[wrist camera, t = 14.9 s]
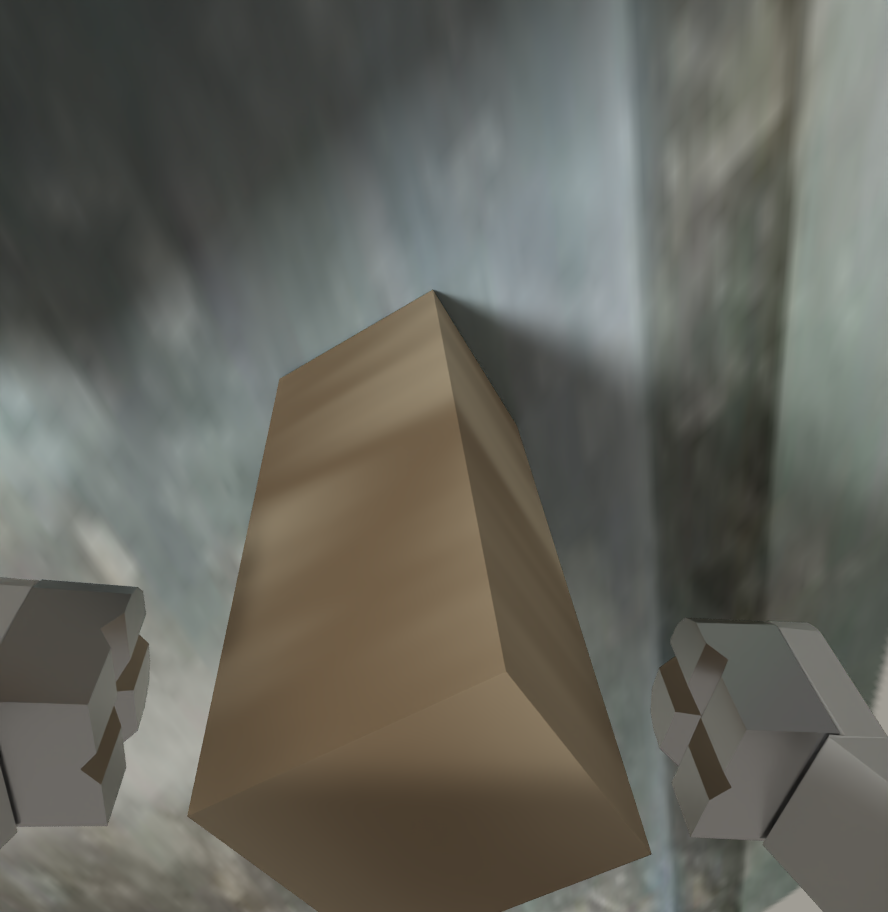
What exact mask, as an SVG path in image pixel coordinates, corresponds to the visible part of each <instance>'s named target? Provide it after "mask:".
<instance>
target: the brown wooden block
mask: <svg viewBox="0 0 888 912" xmlns="http://www.w3.org/2000/svg"><path fill="white" fill-rule="evenodd" d="M187 816H188V817H189V818H190V819H192V820H193V821H195V822H196V823H197V824H199V825H200V826H201V827H203V828H204V829H205V830H207V831H208V832H210V833H211V834H212V835H214V836H215V837H216V838H218V839H219V840H221V841H222V842H223V843H225V844H226V845H227V846H229V847H230V848H232V849H233V850H234V851H236V852H237V853H238V854H240V855H241V856H243V857H244V858H245V859H247V860H248V861H249V862H251V863H252V864H253V865H255V866H256V867H258V868H259V869H260V870H262V871H263V872H264V873H266V874H267V875H269V876H270V877H271V878H273V879H274V880H275V881H277V882H278V883H280V884H281V885H282V886H284V887H285V888H286V889H288V890H289V891H291V892H292V893H293V894H295V895H296V896H297V897H299V898H300V899H302V900H303V901H304V902H306V903H307V904H308V905H310V906H311V907H312V908H314V909H315V910H317V911H318V912H502V911H504V910H507V909H510V908H512V907H515V906H518V905H520V904H523V903H525V902H528V901H531V900H533V899H536V898H538V897H541V896H544V895H546V894H549V893H552V892H554V891H557V890H559V889H562V888H565V887H567V886H570V885H572V884H575V883H578V882H580V881H583V880H586V879H588V878H591V877H593V876H596V875H599V874H601V873H604V872H606V871H609V870H612V869H614V868H617V867H620V866H622V865H625V864H627V863H630V862H633V861H635V860H638V859H640V858H643V857H646V856H648V855H651V851H650V847H649V844H648V841H647V838H646V835H645V832H644V828H643V825H642V822H641V819H640V816H639V812H638V809H637V806H636V803H635V800H634V797H633V793H632V790H631V787H630V784H629V781H628V777H627V774H626V771H625V768H624V765H623V762H622V758H621V755H620V752H619V749H618V746H617V743H616V739H615V736H614V733H613V730H612V727H611V723H610V720H609V717H608V714H607V711H606V708H605V704H604V701H603V698H602V695H601V692H600V688H599V685H598V682H597V679H596V676H595V673H594V669H593V666H592V663H591V660H590V657H589V654H588V650H587V647H586V644H585V641H584V638H583V634H582V631H581V628H580V625H579V622H578V619H577V615H576V612H575V609H574V606H573V603H572V600H571V596H570V593H569V590H568V587H567V584H566V580H565V577H564V574H563V571H562V568H561V565H560V561H559V558H558V555H557V552H556V549H555V545H554V542H553V539H552V536H551V533H550V530H549V526H548V523H547V520H546V517H545V514H544V511H543V507H542V504H541V501H540V498H539V495H538V491H537V488H536V485H535V482H534V479H533V476H532V472H531V469H530V466H529V463H528V460H527V456H526V453H525V450H524V447H523V444H522V441H521V437H520V434H519V431H518V428H517V425H516V424H515V422H514V420H513V419H512V417H511V416H510V414H509V412H508V411H507V409H506V407H505V406H504V404H503V403H502V401H501V399H500V398H499V396H498V395H497V393H496V391H495V390H494V388H493V386H492V385H491V383H490V382H489V380H488V378H487V377H486V375H485V373H484V372H483V370H482V369H481V367H480V365H479V364H478V362H477V360H476V359H475V357H474V356H473V354H472V352H471V351H470V349H469V348H468V346H467V344H466V343H465V341H464V339H463V338H462V336H461V335H460V333H459V331H458V330H457V328H456V326H455V325H454V323H453V322H452V320H451V318H450V317H449V315H448V314H447V312H446V310H445V309H444V307H443V305H442V304H441V302H440V301H439V299H438V297H437V296H436V294H435V292H434V291H433V290H432V291H430V292H428V293H426V294H425V295H423V296H421V297H420V298H418V299H416V300H414V301H413V302H411V303H409V304H407V305H406V306H404V307H402V308H401V309H399V310H397V311H395V312H394V313H392V314H390V315H389V316H387V317H385V318H383V319H382V320H380V321H378V322H377V323H375V324H373V325H371V326H370V327H368V328H366V329H365V330H363V331H361V332H359V333H358V334H356V335H354V336H353V337H351V338H349V339H347V340H346V341H344V342H342V343H340V344H339V345H337V346H335V347H334V348H332V349H330V350H328V351H327V352H325V353H323V354H322V355H320V356H318V357H316V358H315V359H313V360H311V361H310V362H308V363H306V364H304V365H303V366H301V367H299V368H298V369H296V370H294V371H292V372H291V373H289V374H287V375H286V376H284V377H282V378H280V379H279V384H278V388H277V393H276V398H275V403H274V407H273V412H272V417H271V422H270V426H269V431H268V436H267V441H266V445H265V450H264V455H263V460H262V464H261V469H260V474H259V479H258V483H257V488H256V493H255V498H254V502H253V507H252V512H251V516H250V521H249V526H248V531H247V535H246V540H245V545H244V550H243V554H242V559H241V564H240V569H239V573H238V578H237V583H236V588H235V592H234V597H233V602H232V607H231V611H230V616H229V621H228V626H227V630H226V635H225V640H224V645H223V649H222V654H221V659H220V664H219V668H218V673H217V678H216V682H215V687H214V692H213V697H212V701H211V706H210V711H209V716H208V720H207V725H206V730H205V735H204V739H203V744H202V749H201V754H200V758H199V763H198V768H197V773H196V777H195V782H194V787H193V792H192V796H191V801H190V806H189V811H188V815H187Z"/></svg>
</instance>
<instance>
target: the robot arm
mask: <svg viewBox="0 0 888 912" xmlns="http://www.w3.org/2000/svg"><path fill="white" fill-rule="evenodd" d="M145 616H146V609H145V601H144V594H143V591H142V590H141V589H140V588H139V587H131V586H118V585H106V584H93V583H80V582H68V581H55V580H43V579H42V580H41V581H39V580H27V579H16V578H5V577H0V849H1V848H2V847H3V846H4V845H5V844H6V843H7V842H8V841H9V840H10V839H11V838H12V837H13V836H14V835H15V834H16V833H17V827H31V826H107V825H108V822H109V819H110V816H111V813H112V810H113V807H114V804H115V800H116V797H117V794H118V791H119V788H120V785H121V782H122V779H123V776H124V772H125V769H126V762H125V753H124V744H123V742H125V741H126V740H127V739H128V738H129V737H131V736H132V735H133V734H134V733H135V732H137V731H138V728H139V725H140V721H141V718H142V715H143V711H144V708H145V702H146V697H147V691H148V685H149V676H150V652H149V643H148V642H147V641H146V640H145V639H143V638H142V637H141V636H140V635H139V633H140V630H141V627H142V625H143V622H144V619H145ZM670 643H671V645H672V648H673V650H674V653H675V655H676V656H675V657H674V658H672V659H671V660H669V661H668V662H667V663H665V664H664V665H662V666H661V667H660V668H659V669H658V672H657V675H656V678H655V681H654V684H653V687H652V695H651V717H652V723H653V729H654V732H655V735H656V739H657V742H658V745H659V748H660V749H661V750H662V751H663V752H664V753H665V754H666V755H667V756H668V757H669V758H671V759H672V760H673V761H674V762H675V763H676V764H677V765H678V768H677V771H676V773H675V775H674V778H673V780H672V786H673V789H674V791H675V794H676V797H677V800H678V803H679V806H680V809H681V811H682V814H683V817H684V820H685V823H686V826H687V828H688V831H689V834H690V837H698V838H719V839H740V840H760V841H764V843H763V846H764V847H765V848H766V849H767V850H768V851H769V852H770V853H771V854H772V855H773V857H774V858H775V859H776V860H777V861H778V862H779V863H780V864H781V865H782V867H783V868H784V869H785V870H786V871H787V872H788V873H789V874H790V875H791V877H792V878H793V879H794V880H795V881H796V882H797V883H798V884H799V885H800V887H801V888H802V889H803V890H804V891H805V892H806V893H807V894H808V895H809V896H810V898H811V899H812V900H813V901H814V902H815V903H816V904H817V905H818V906H819V907H820V909H821V910H822V911H823V912H888V736H887V735H886V733H885V732H884V730H883V729H882V727H881V725H880V724H879V722H878V721H877V719H876V718H875V716H874V715H873V713H872V711H871V710H870V708H869V707H868V705H867V704H866V702H865V701H864V699H863V697H862V696H861V694H860V693H859V691H858V690H857V688H856V687H855V685H854V683H853V682H852V680H851V679H850V677H849V676H848V674H847V673H846V671H845V669H844V668H843V666H842V665H841V663H840V662H839V660H838V659H837V657H836V655H835V654H834V652H833V651H832V649H831V648H830V646H829V644H828V643H827V641H826V640H825V638H824V637H823V635H822V634H821V632H820V631H819V630H818V629H817V628H816V627H814V626H813V625H811V624H810V623H805V622H781V621H767V622H763V621H751V620H729V619H708V618H687V617H685V618H684V619H683V620H682V621H681V622H680V623H679V624H678V625H677V626H676V628H675V630H674V633H673V635H672V637H671V640H670Z"/></svg>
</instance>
